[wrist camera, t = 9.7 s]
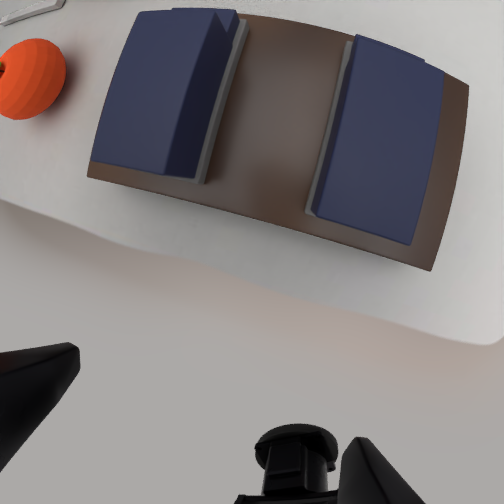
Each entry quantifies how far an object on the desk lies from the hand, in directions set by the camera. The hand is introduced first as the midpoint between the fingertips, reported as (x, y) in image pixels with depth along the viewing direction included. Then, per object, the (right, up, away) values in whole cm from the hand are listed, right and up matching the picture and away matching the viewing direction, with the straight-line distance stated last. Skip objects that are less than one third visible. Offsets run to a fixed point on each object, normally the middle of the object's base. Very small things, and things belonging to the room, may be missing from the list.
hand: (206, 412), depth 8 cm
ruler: (-23, +31, +10) cm, 40 cm away
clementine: (-16, +19, +11) cm, 27 cm away
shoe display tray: (+3, +12, +9) cm, 16 cm away
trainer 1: (-2, +13, +6) cm, 14 cm away
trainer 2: (+7, +10, +5) cm, 13 cm away
